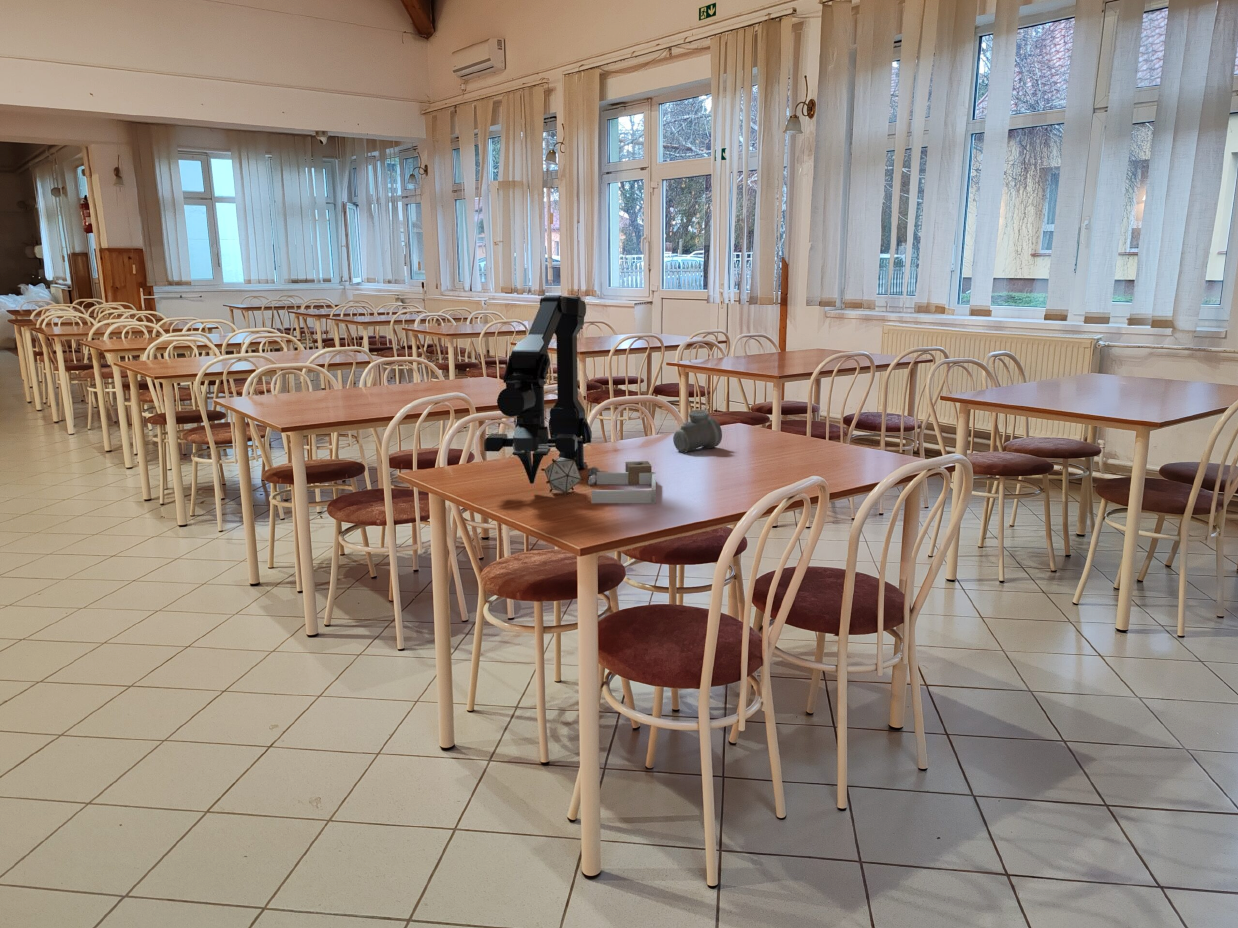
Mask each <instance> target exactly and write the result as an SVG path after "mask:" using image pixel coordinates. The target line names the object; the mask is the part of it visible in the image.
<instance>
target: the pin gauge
mask: <svg viewBox="0 0 1238 928" xmlns="http://www.w3.org/2000/svg"><path fill="white" fill-rule="evenodd" d="M597 472H601V471H600V468H598V467H596V466H592V467H590V468H589V470H588V473H587V475H588V477H589V478H588V481H587V484H588V486H590V487H593V486H595V485H596V483H597Z"/></svg>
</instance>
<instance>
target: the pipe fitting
mask: <svg viewBox="0 0 1238 928" xmlns="http://www.w3.org/2000/svg"><path fill="white" fill-rule="evenodd" d="M688 416H689V418H690V419H689V421H687V422H684V423H682V424H681V426H680V429H678V430H676V431H675V432H674V433H673V438H672V440H673V445H674V447H675V449H676V450H677V451H679V452H680V453H687V452H690V451H691V452H692V451H693V450H696V449H700V448H702V447H704V448H706V449H711V448H715V447H718V446H719V445H720V444H721V443H722V439H723V431H722V427H721V425H720V423H719V422H718V421H717V419H715V418H714V417H711V416H710V413H709V411H708V410H705V409H694V410H691V411H689V412H688Z"/></svg>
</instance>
